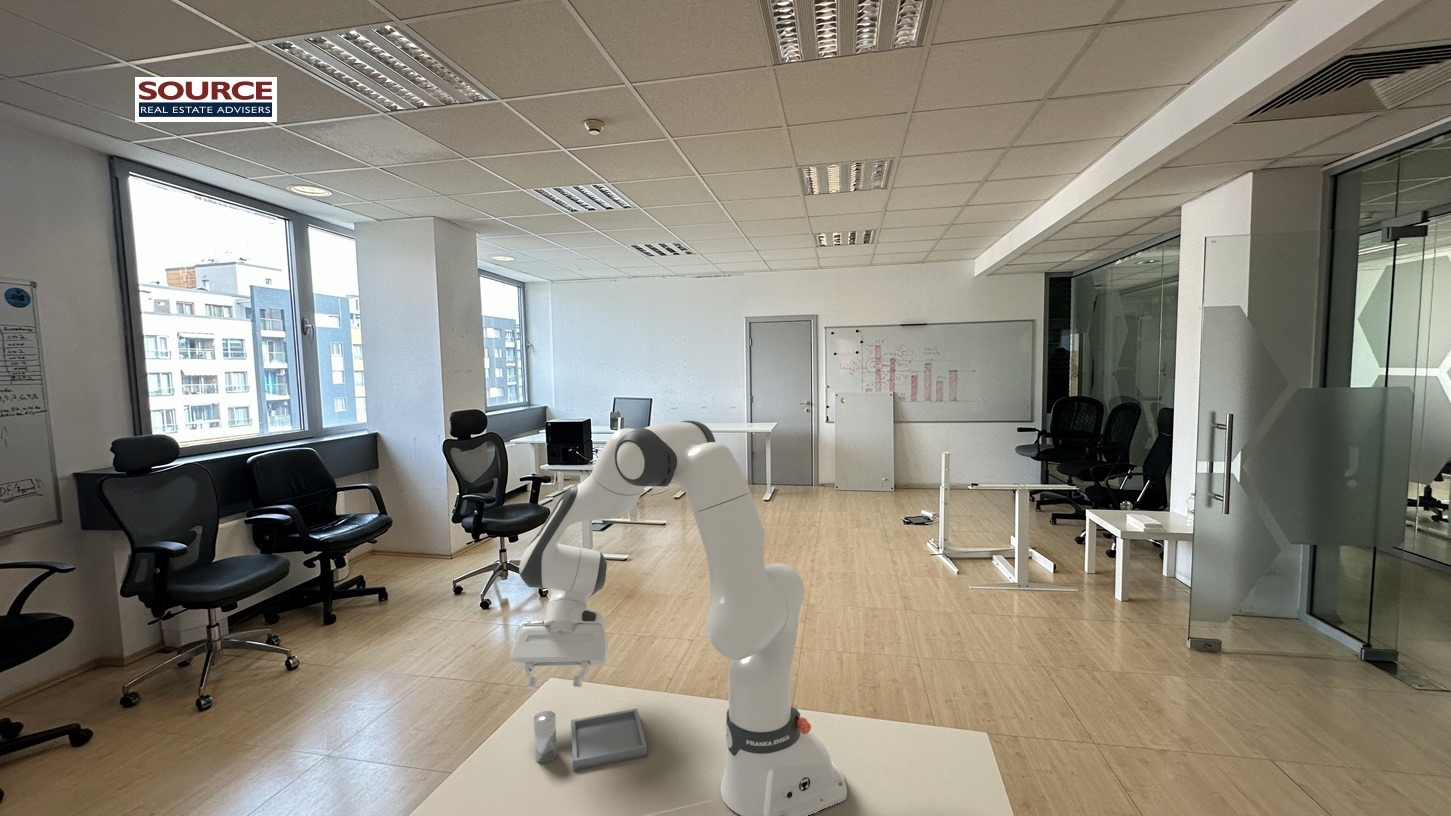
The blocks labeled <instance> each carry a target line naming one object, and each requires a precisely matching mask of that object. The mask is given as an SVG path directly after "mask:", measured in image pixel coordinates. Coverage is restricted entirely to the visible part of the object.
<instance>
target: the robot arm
mask: <svg viewBox="0 0 1451 816" xmlns="http://www.w3.org/2000/svg"><path fill="white" fill-rule="evenodd" d="M744 475H745V474H744V473H743V472H742V469H741V467H740V465H739V464H738V462H737V459H736V458H735V456H734V454H733V452H732V451H731V449H730V448H729V447H728V446H727V445H725V444H723V443H722V442H716V439H715V436H714V434H713V432H712V430H711V429H710V428H709V427H708V426H707V425H705V424H704V423H702V422H699V421H696V420H682V421H675V422H660V423H655V424H652V425H650V426H645V427H638V428H629V427H626V428H620V429H618V430H616V431H614V432H613V433H612V434H611V436H610V437H609V438H608V440H607V441H606V443H605V445H604V447H603V448H602V450H601V452H600V453H599V455H598V458H597V459H596V462H595V464H594V466H593V468H592V471H591V473H590V474H589V476H587V478H585V479H584V480H583V481H581V482H580V483H578V484H576V485H573V486H572V485H571V486H569V487H568V488H567V489H566V490H565V492H563V494H562V495H561V497H560V498H559V500H558V501H557V503H556V505H554V507H553V509H552V511H551V512H550V514H549V515H548V517H547V518H546V520H545V522H544V523H543V525H542V526H541V528H540V530H539V532H538V533H537V534H536V535H535V537H534V538H533V539H532V541H531V542H530V543H529V544H528V546H527V548H526V549H525V550H524V552H523V554H522V555H521V558H520V562H519V566H518V567H519V568H518V570H519V571H518V575H519V576H520V578H521V579H522V581H523V582H524V583H525V585H526V586H527V587H528V588H535V589H550V599H549V600H548V602H547V604H546V605H547V606H546V611H545V615H544V620H536V621H528V620H527V621H525V622H523V623H521V624H520V625H518V626H517V628H516V629H515V636H514V642H513V645H512V648H511V652H510V656H509V659H510V661H511V663H512V665H514V666H515V667H517V668H519V667H522V668H524V671H525V673H526V675H527V678H528V679H527V684H526V686H527V688H528V689H536V688H537V686H538V685H537V683H538V678H537V677H536V676H533V673H532V672H534V671H535V667H556V666H557V667H559V666H561V667H563V666H564V667H566V666H570V667H571V666H580V667H581V671H580V672H579V674H578V675H574V676H573V683H572V686H573V687H574V688H581V687H582V686H583V681H584V678H585V677H586V675H588V673H589V671H590V667H591V666H598V665H599V666H602V665H604V664H606V662H607V661H608V654H609V653H608V652H609V648H608V647H609V645H608V644H609V643H608V637H607V634H606V632H605V630H606V621H605V619H604V617H603V615H602V614H601V613H599V612H596V611H594V610H590V609H588V603H587V600H588V597H592V596H593V595H595V594H597V592H600V590H602V589H603V588H604V585H605V582H606V575H607V569H608V568H607V566H608V561H607V559H606V558H605V556H604V554H603V553H602V552H601V551H598V550H595V549H591V548H585V547H579V546H575V545H568V544H564V543H559V541H560V540H561V538H562V537H563V536H564V534H565V532H566V531H567V530H568V528H569V527H570V526H572V525H575V524H577V523H581V522H586V521H595V520H596V521H597V520H598V521H599V520H600V521H601V520H603V521H605V520H611V519H617V518H620V517H622V516H624V515H627V514H628V513H629V512H630V511H632V510H633V509H634V507H635V505H637V503H638V502H639V499H640V497H641V495H642V493H643V491H644V488H645V487H662V488H663V487H668V486H669V485H670V484H671V483H672V482H673V483H676V484H678V485H679V486H680V487H682V489H683V490H684V492H685V494H686V496H687V499H688V503H689V505H690V508H691V511H692V515H693V517H694V521H695V523H696V527H697V530H698V532H699V535H700V538H701V541H702V545H703V547H704V550H705V554H706V555H705V556H706V560H707V566H708V575H709V594H710V595H709V596H710V598H709V599H710V600H709V601H710V603H709V609H708V611H707V612H708V613H707V616H706V620H705V630H706V635H707V637H708V640H709V642H710V644H711V646H712V647H713V649H714V650H716V651H717V653H719V654H720V655H721V656H723V657H725V658H727V659H729V660H731V661H730V664H729V666H728V667H729V668H728V672H727V673H728V674H727V675H728V709H727V711H726V718H725V719H726V720H725V721H726V722H725V723H726V724H725V740H726V743H725V744H726V746H727V751H726V752H727V754H726V761H725V767H724V772H723V776H722V780H721V783H720V796H721V799H722V800H723V802H724V804H725V805H726V806H727V807H728V809H731V810H732V811H733V812H734V813H735V814H737V815H740V816H807V815H811V814H813V813H815V812H817V811H820V810H821V809H824V808H826V809H828V808H827V807H829V806H831V807H833V806H835V805H837V803H838V804H839V803H842V802H844V801H846V800H847V798H848V787H847V784H846V780H845V778H844V775H843V774H842V771H841V770H840V769H839V767H838V766H837V765H836V763H835V762H834V761H833V760H832V759H831V756H830V753H829V751H828V750H827V748H826V746H825V745H824V743H823V741H822V740H821V739H820V738H819V737H818V735H816V734H815V733H814V732H812V731H811V730H812V725H811V723H809V721H808V719H807V718H805V717H803V716H802V717H801V713H800V712H799V710H798V709H797V708H795V707H793V705H792V693H791V691H792V682H791V681H792V666H793V659H794V654H795V648H796V641H797V636H798V635H797V634H798V627H799V620H800V619H799V618H800V612H801V608H802V604H803V600H804V597H805V585H804V581H803V580H802V578H801V576H800V574H799V573H798V572H797V570H795V569H794V568H793V567H791V566H790V565H788V564H785V563H780V562H776V563H770V564H766V565H765V552H764V551H765V550H764V547H765V540H766V533H765V528H764V526H763V523H762V521H761V518H760V515H759V512H758V509H757V507H756V503H755V501H754V499H753V496H752V493H751V491H750V488H749V487H750V486H749V484H748V482H747V479H746V478H745V476H744ZM834 804H835V805H834ZM832 805H833V806H832ZM829 808H830V807H829ZM824 810H825V809H824ZM820 812H821V811H820ZM817 813H818V812H817ZM815 814H816V813H815ZM813 815H814V814H813ZM811 816H812V815H811Z"/></svg>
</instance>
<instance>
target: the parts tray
mask: <svg viewBox="0 0 1451 816" xmlns="http://www.w3.org/2000/svg"><path fill="white" fill-rule="evenodd" d="M570 731H571V732H570V733H571V753H572V756H571V757H572V771H577V770H582V769H588V768H592V767H596V766H602V765H607V764H612V763H616V762H617V763H618V762H623V761H627V760H633V759H638V758H642V757H646V756H648V746H647V742H646V738H645V735H644V734H645V733H644V730H643V725H642V722H641V717H640V714H639V709H638V708H633V709H627V710H621V711H616V712H610V713H605V714H598V715H593V716H587V717H582V718H576V719H575V718H574V719H571V720H570Z"/></svg>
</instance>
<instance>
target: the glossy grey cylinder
mask: <svg viewBox="0 0 1451 816" xmlns="http://www.w3.org/2000/svg"><path fill="white" fill-rule="evenodd" d="M556 725H557V724H556V713H555V712H554V711H552V710H544V711H543V710H542V711H541V712H539V713H537V714H536V715H535V716H534V717H533V730H534V733H533V734H534V759H535V762H536V763H539V764H547V763H550V762H552V761H553V760H555V759H556V757H557V727H556Z"/></svg>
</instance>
